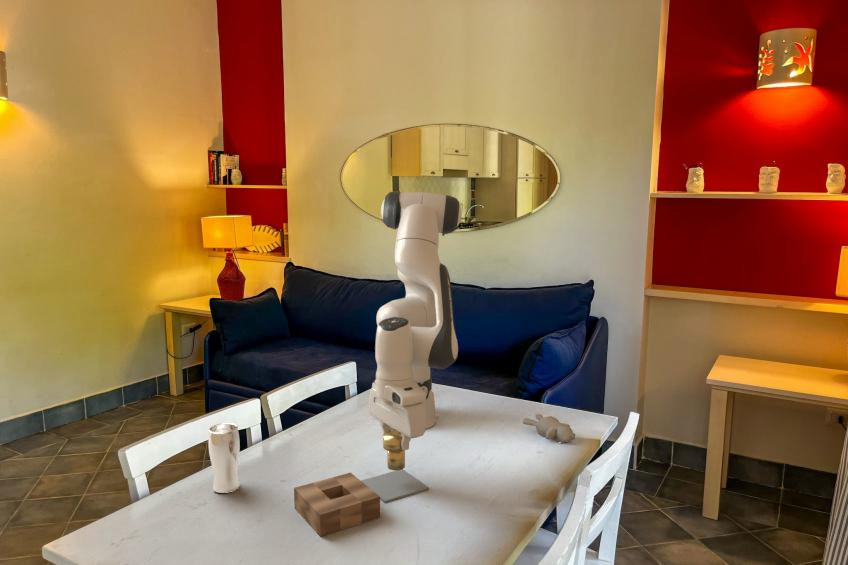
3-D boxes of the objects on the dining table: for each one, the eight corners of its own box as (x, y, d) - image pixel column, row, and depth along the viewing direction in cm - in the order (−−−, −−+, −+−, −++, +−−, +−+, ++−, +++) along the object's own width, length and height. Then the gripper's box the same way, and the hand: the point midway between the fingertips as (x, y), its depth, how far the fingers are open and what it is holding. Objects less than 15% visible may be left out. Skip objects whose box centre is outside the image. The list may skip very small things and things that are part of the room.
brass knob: (379, 465, 150) (378, 433, 148) (400, 459, 153) (399, 428, 152) (392, 474, 145) (391, 441, 144) (413, 467, 148) (413, 435, 147)
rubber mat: (360, 482, 151) (360, 480, 151) (402, 470, 158) (402, 468, 158) (384, 502, 141) (384, 500, 141) (428, 489, 148) (428, 487, 148)
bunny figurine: (561, 434, 171) (520, 413, 183) (558, 451, 173) (518, 429, 184) (582, 426, 177) (541, 406, 189) (579, 442, 179) (539, 422, 190)
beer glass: (247, 484, 151) (244, 424, 149) (229, 497, 144) (226, 435, 142) (223, 479, 153) (220, 421, 151) (204, 492, 146) (201, 431, 144)
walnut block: (294, 508, 139) (293, 487, 138) (351, 491, 147) (350, 472, 146) (320, 536, 128) (319, 514, 127) (380, 517, 135) (380, 496, 134)
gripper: (361, 379, 153) (363, 433, 155) (406, 401, 136) (407, 461, 138) (384, 375, 156) (385, 428, 158) (430, 395, 140) (431, 454, 141)
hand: (396, 444), depth 148 cm, fingers closed on brass knob, 6 cm apart
